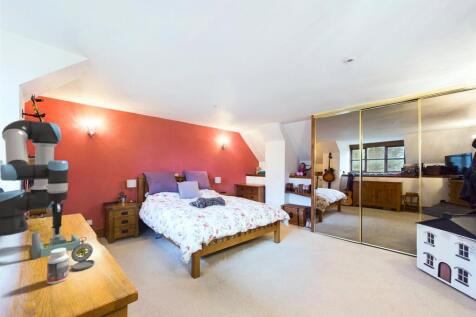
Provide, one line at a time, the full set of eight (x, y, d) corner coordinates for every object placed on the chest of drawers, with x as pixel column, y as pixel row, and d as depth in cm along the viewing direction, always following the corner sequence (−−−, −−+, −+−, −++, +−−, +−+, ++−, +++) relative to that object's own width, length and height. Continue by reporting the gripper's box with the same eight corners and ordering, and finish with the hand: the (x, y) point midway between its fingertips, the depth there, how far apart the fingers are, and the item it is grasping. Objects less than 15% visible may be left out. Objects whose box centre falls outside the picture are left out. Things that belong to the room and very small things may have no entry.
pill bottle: (42, 282, 67) (43, 251, 67) (62, 274, 72) (62, 245, 72) (53, 286, 65) (53, 254, 65) (72, 277, 70) (72, 248, 70)
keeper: (29, 249, 93) (30, 227, 93) (73, 240, 104) (74, 220, 105) (31, 260, 83) (32, 234, 83) (80, 248, 94) (80, 226, 94)
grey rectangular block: (49, 247, 96) (49, 238, 96) (63, 244, 100) (63, 235, 100) (51, 251, 91) (51, 242, 92) (66, 248, 95) (66, 239, 95)
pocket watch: (82, 272, 73) (83, 243, 74) (63, 269, 75) (64, 241, 75) (102, 261, 81) (102, 235, 82) (84, 259, 83) (84, 234, 83)
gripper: (45, 191, 103) (44, 239, 102) (48, 194, 94) (47, 246, 93) (65, 190, 108) (64, 235, 108) (69, 192, 100) (68, 241, 99)
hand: (56, 240), depth 101 cm, fingers closed
